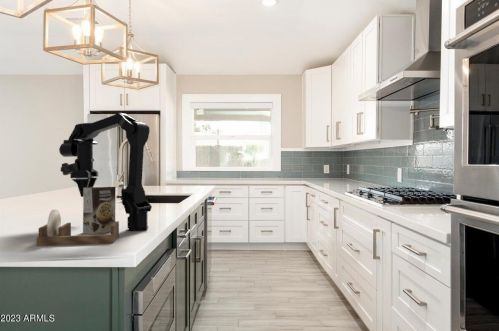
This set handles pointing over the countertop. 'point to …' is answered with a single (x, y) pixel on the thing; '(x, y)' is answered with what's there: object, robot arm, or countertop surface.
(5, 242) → the countertop surface
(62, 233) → the rack
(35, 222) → the countertop surface
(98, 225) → the coffee box
